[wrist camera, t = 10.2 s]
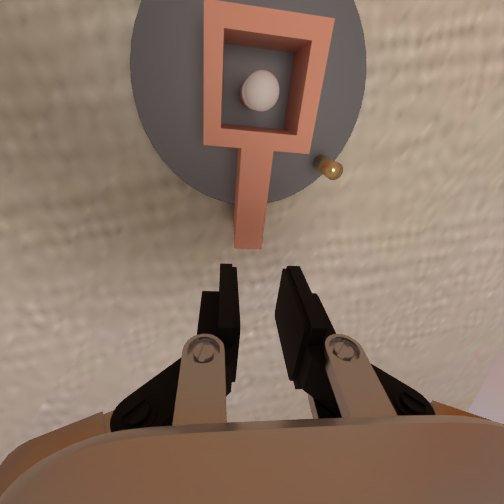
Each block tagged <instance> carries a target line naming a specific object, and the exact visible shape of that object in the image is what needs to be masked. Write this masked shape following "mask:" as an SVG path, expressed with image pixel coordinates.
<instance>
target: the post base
mask: <svg viewBox="0 0 504 504" xmlns="http://www.w3.org/2000/svg"><path fill="white" fill-rule="evenodd" d="M219 1H225V2H232V3H238V4H245V5H251V6H258V7H264V8H271V9H277V10H284V11H290V12H297V13H303V14H310V15H316V16H323V17H329V18H335V21H334V26H333V32H332V37H331V42H330V47H329V53H328V58H327V63H326V68H325V74H324V79H323V84H322V90H321V95H320V100H319V105H318V111H317V116H316V121H315V126H314V132H313V137H312V142H311V147H310V153H309V154H302V153H290V152H279V151H273V159H272V167H271V175H270V183H269V191H268V199H267V203H270V202H274V201H278V200H281V199H284V198H286V197H289V196H291V195H293V194H295V193H297V192H299V191H301V190H302V189H304V188H305V187H307V186H308V185H310V184H311V183H313V182H314V181H315V180H316V179H317V178H318V177H320V176H321V175H322V173H321V172H319V171H318V170H317V169H315V167H314V165H313V163H314V160H315V158H316V157H317V156H319V155H325V156H327V157H329V158H331V159H332V160H334V161H335V159H336V158H337V157H338V155H339V154H340V152H341V151H342V149H343V148H344V146H345V144H346V142H347V141H348V139H349V137H350V135H351V133H352V130H353V128H354V126H355V123H356V121H357V118H358V114H359V111H360V108H361V104H362V99H363V94H364V90H365V79H366V49H365V40H364V33H363V29H362V25H361V21H360V17H359V14H358V11H357V8H356V6H355V3H354V0H219ZM294 54H295V53H293V52H286V51H278V50H271V49H263V48H256V47H249V46H241V45H234V44H226V43H224V67H223V97H222V124H232V125H243V126H253V127H263V128H274V129H284V126H285V119H286V112H287V105H288V97H289V90H290V83H291V76H292V69H293V62H294ZM130 69H131V83H132V89H133V95H134V100H135V103H136V107H137V110H138V114H139V117H140V120H141V122H142V125H143V127H144V129H145V132H146V134H147V136H148V137H149V139H150V141H151V143H152V145H153V147H154V148H155V150H156V151H157V152H158V154H159V155H160V157H161V158H162V160H163V161H164V162H165V163H166V164H167V165H168V166H169V168H170V169H171V170H172V171H173V172H174V173H175V174H176V175H177V176H179V177H180V178H181V179H182V180H183V181H184V182H186V183H187V184H189V185H190V186H191V187H193V188H194V189H196V190H198V191H200V192H202V193H203V194H205V195H207V196H210V197H212V198H215V199H218V200H221V201H225V202H229V203H235V190H236V175H237V159H238V148H232V147H221V146H209V145H203V125H204V0H142V1H141V4H140V7H139V10H138V14H137V17H136V20H135V24H134V30H133V35H132V40H131V55H130Z"/></svg>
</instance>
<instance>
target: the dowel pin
mask: <svg viewBox="0 0 504 504" xmlns="http://www.w3.org/2000/svg"><path fill="white" fill-rule="evenodd" d="M313 165H314V167H315V169H317V170H318V171H319V172H321V173H322V174H323V175H325V176H326V177H327V178H329V179H330V180H335V179H338V178H339V177H340V176H341V174H342V172H343V167H342V165H341V164H340V163H338V162H336V161H334V160H332V159H331V158H329V157H327V156H325V155H319V156H317V157H316V158H315V160H314V163H313Z"/></svg>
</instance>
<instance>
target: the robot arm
mask: <svg viewBox="0 0 504 504" xmlns="http://www.w3.org/2000/svg"><path fill="white" fill-rule="evenodd" d="M275 320H276V324H277V329H278V333H279V338H280V342H281V346H282V351H283V355H284V359H285V364H286V368H287V373H288V377H289V380H290V381H294V385H295V389H303V390H304V391H305V392H306V393H308V400H309V404H310V408H311V412H312V416H313V419H299V420H275V421H252V422H230V423H227V413H226V396H227V395H228V394H229V393H230V392H231V383H232V382H235V379H236V369H237V359H238V349H239V339H240V312H239V297H238V281H237V267H232V264H220V286H219V291H202V298H201V306H200V314H199V322H198V330H197V335H196V336H193V337H192V338H190V339H189V340H188V341H187V342H186V343H185V345H184V347H183V351H182V357H181V358H180V359H179V360H177V361H176V362H174V363H173V364H172V365H170V366H169V367H168V368H166V369H165V370H164V371H162V372H161V373H159V374H158V375H157V376H155V377H154V378H153V379H151V380H150V381H148V382H147V383H146V384H144V385H143V386H142V387H140V388H139V389H137V390H136V391H135V392H133V393H132V394H131V395H129V396H128V397H126V398H125V399H124V400H123V401H122V402H121V403H120V404H118V406H117V407H116V409H115V410H114V411H111V412H109V413H106V414H104V415H103V411H102V412H100V413H97V414H95V415H92V416H90V417H87V418H85V419H82V420H79V421H77V422H74V423H72V424H69V425H67V426H64V427H62V428H59V429H57V430H54V431H52V432H49V433H47V434H44V435H42V436H39V437H37V438H34V439H32V440H29V441H27V442H25V443H24V444H22V445H20V446H18V447H17V448H16V449H15V450H14V451H12V452H11V453H10V454H9V455H8V456H7V457H6V459H5V460H4V461H3V462H2V464H1V465H0V504H504V424H501V423H498V422H494V421H491V420H489V419H486V418H483V417H480V416H477V415H474V414H471V413H468V412H465V411H462V410H459V409H456V408H453V407H450V406H447V405H445V404H442V403H439V402H436V401H433V400H432V402H431V403H429V402H428V401H427V400H426V399H425V398H424V397H423V395H421V394H420V393H418V392H417V391H416V390H414V389H412V388H411V387H409V386H407V385H406V384H404V383H402V382H401V381H399V380H397V379H396V378H394V377H392V376H391V375H389V374H387V373H386V372H384V371H382V370H381V369H379V368H377V367H376V366H374V365H372V364H371V363H370V362H369V360H368V358H367V356H366V354H365V352H364V350H363V348H362V347H361V345H360V344H359V343H358V342H357V341H356V340H354V339H352V338H351V337H349V336H346V335H343V334H336V332H335V330H334V328H333V326H332V324H331V322H330V320H329V318H328V316H327V313H326V311H325V309H324V307H323V305H322V303H321V301H320V299H319V297H318V295H317V294H316V293H312V292H311V290H310V288H309V286H308V284H307V281H306V279H305V277H304V275H303V273H302V270H301V268H300V266H287V268H286V269H283V271H282V276H281V281H280V287H279V292H278V298H277V303H276V309H275Z"/></svg>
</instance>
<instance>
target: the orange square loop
mask: <svg viewBox="0 0 504 504" xmlns="http://www.w3.org/2000/svg"><path fill="white" fill-rule="evenodd" d="M334 21H335V18H329V17H323V16H316V15H310V14H303V13H297V12H290V11H284V10H277V9H271V8H264V7H258V6H251V5H245V4H238V3H232V2H225V1H219V0H204V125H203V145H209V146H221V147H232V148H238V159H237V175H236V190H235V206H234V222H233V231H234V247H235V248H242V249H261V247H262V239H263V231H264V223H265V215H266V207H267V199H268V191H269V183H270V175H271V167H272V159H273V151H279V152H290V153H302V154H309V153H310V147H311V142H312V137H313V132H314V126H315V121H316V116H317V111H318V105H319V100H320V95H321V90H322V84H323V79H324V74H325V68H326V63H327V58H328V53H329V47H330V42H331V37H332V32H333V26H334ZM224 43H226V44H234V45H241V46H249V47H256V48H263V49H271V50H278V51H286V52H293V53H295V54H294V62H293V69H292V76H291V83H290V90H289V97H288V105H287V112H286V119H285V126H284V129H274V128H263V127H253V126H243V125H232V124H222V97H223V67H224Z"/></svg>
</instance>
